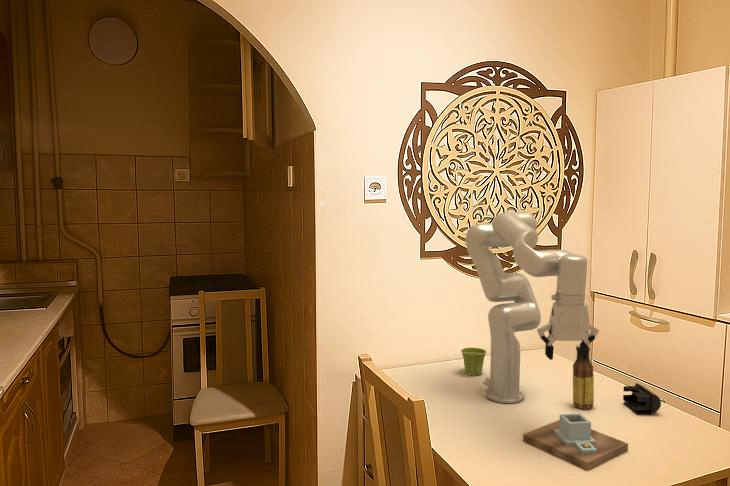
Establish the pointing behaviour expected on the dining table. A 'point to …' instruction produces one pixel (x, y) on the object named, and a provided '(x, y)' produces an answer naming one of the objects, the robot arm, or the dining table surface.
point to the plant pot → (473, 360)
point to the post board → (555, 446)
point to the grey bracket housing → (576, 432)
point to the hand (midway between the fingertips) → (566, 357)
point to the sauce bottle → (583, 382)
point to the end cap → (641, 400)
